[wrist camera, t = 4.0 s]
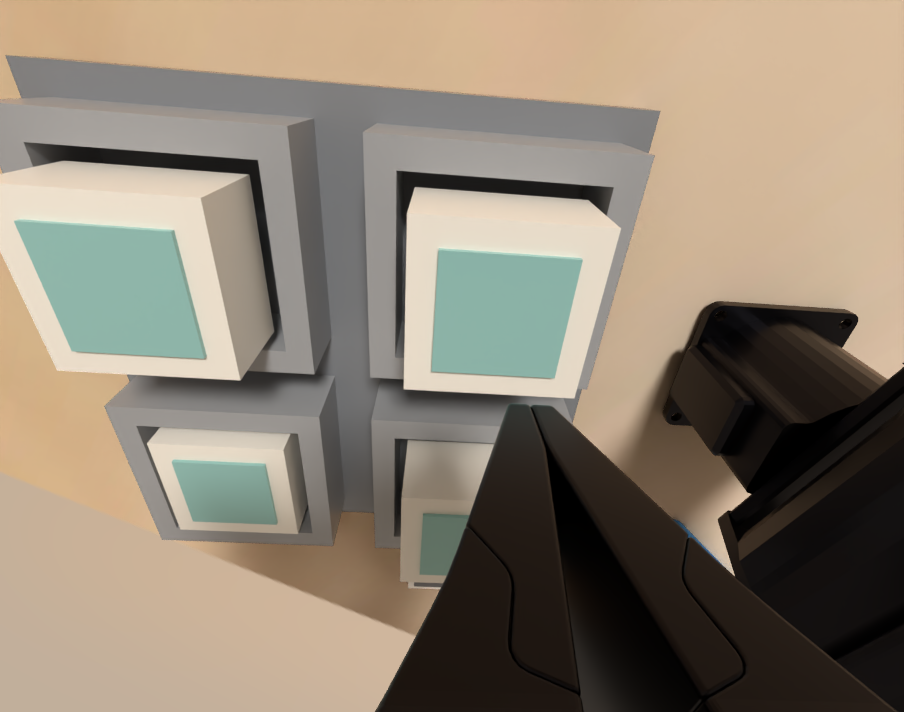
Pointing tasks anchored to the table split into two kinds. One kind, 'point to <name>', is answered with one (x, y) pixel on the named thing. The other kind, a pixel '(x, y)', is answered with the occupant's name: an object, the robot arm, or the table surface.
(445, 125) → the console
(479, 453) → the button
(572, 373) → the button
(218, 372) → the button
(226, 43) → the table surface
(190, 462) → the button
